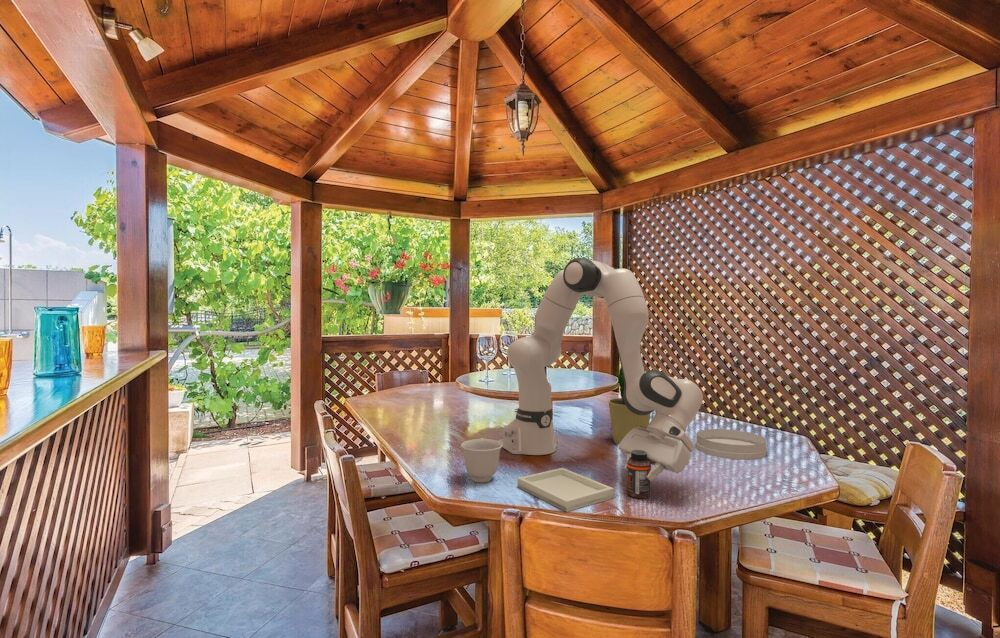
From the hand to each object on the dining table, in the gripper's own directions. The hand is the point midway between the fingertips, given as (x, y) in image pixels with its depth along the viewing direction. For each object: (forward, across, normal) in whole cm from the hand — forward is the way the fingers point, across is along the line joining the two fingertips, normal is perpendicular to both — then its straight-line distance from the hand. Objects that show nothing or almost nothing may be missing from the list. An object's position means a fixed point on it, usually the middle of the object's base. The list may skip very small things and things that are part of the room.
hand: (637, 474), depth 131 cm
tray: (+14, -11, -7) cm, 19 cm away
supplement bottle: (+4, 0, +4) cm, 6 cm away
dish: (-37, -15, +46) cm, 61 cm away
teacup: (+24, -32, -16) cm, 43 cm away
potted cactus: (-22, -40, +29) cm, 54 cm away
